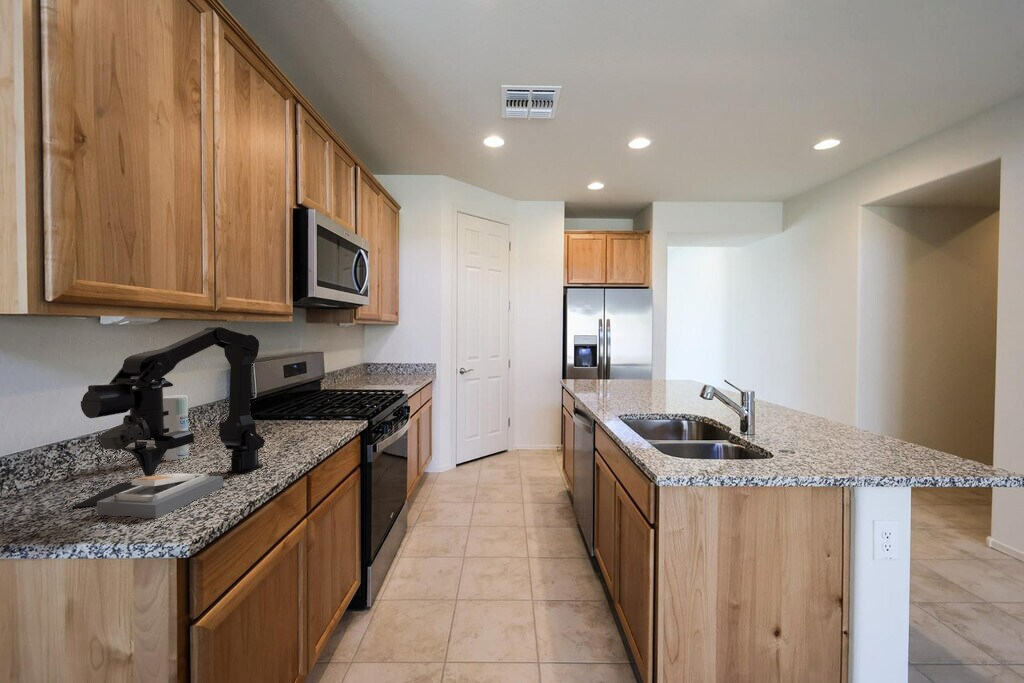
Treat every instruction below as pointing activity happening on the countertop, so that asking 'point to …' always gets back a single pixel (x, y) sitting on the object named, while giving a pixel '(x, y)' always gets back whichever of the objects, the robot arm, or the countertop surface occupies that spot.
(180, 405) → the spray can
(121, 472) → the countertop surface
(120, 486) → the smartphone
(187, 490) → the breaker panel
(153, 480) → the rocker switch
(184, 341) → the robot arm
